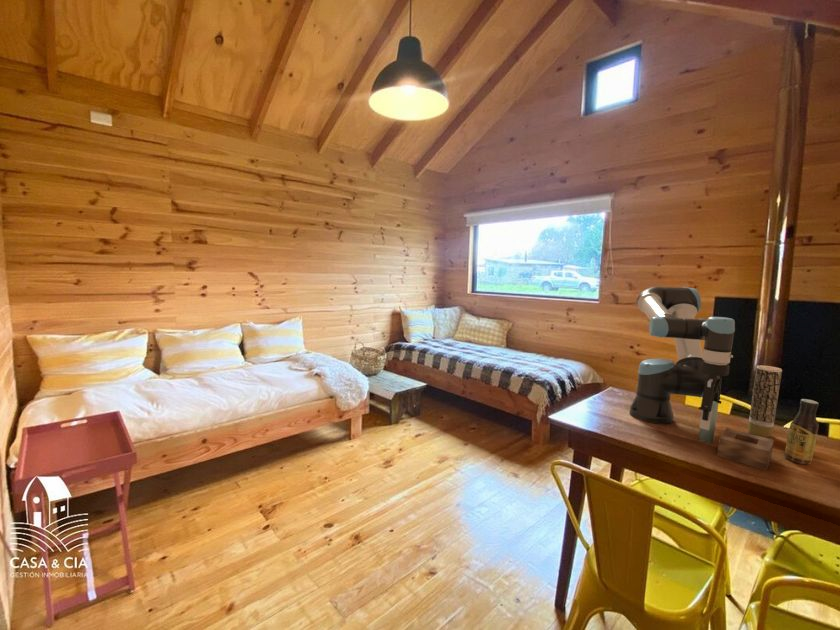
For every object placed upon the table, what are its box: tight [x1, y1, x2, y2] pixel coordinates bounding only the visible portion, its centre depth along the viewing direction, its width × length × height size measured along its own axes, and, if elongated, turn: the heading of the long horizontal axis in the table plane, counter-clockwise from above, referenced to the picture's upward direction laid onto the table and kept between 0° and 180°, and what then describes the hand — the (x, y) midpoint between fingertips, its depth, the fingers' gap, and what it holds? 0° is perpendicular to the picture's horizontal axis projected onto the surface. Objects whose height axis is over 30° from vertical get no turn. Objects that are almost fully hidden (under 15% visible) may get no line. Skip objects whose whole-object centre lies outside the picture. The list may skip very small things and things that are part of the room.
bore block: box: [716, 427, 775, 471], centre depth 123 cm, size 12×12×6 cm
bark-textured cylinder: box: [747, 364, 783, 438], centre depth 140 cm, size 7×7×25 cm
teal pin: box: [698, 401, 719, 444], centre depth 134 cm, size 4×4×14 cm
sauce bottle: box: [784, 398, 820, 465], centre depth 121 cm, size 6×6×20 cm
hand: (707, 424), depth 134 cm, fingers open, 10 cm apart
